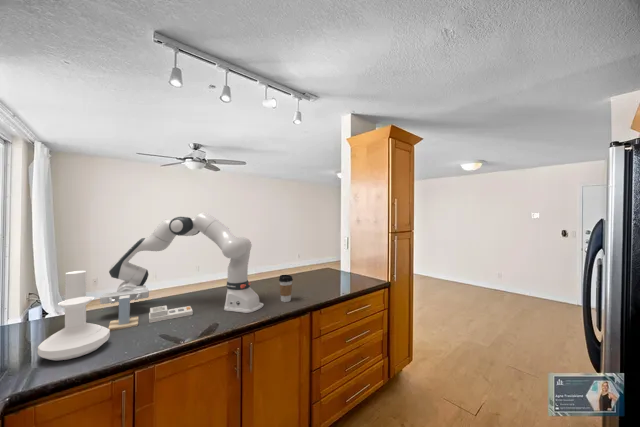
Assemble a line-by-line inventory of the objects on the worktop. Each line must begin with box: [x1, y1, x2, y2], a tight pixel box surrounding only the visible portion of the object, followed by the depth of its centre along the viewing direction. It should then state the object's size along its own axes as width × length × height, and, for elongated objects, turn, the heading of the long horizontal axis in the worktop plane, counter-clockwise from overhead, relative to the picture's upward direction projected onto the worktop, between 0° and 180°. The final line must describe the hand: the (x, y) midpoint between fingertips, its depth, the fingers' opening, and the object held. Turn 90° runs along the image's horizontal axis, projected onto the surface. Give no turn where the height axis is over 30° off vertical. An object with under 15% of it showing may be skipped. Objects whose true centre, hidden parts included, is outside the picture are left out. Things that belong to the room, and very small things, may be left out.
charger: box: [118, 295, 131, 325], centre depth 124 cm, size 5×4×12 cm
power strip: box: [148, 305, 194, 324], centre depth 135 cm, size 19×9×4 cm, turn 124°
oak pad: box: [107, 315, 139, 332], centre depth 124 cm, size 11×11×1 cm
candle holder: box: [37, 296, 111, 362], centre depth 99 cm, size 20×20×19 cm
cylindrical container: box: [64, 270, 87, 328], centre depth 122 cm, size 7×7×25 cm
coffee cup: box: [278, 274, 294, 303], centre depth 160 cm, size 8×8×15 cm
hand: (124, 300), depth 129 cm, fingers open, 8 cm apart
